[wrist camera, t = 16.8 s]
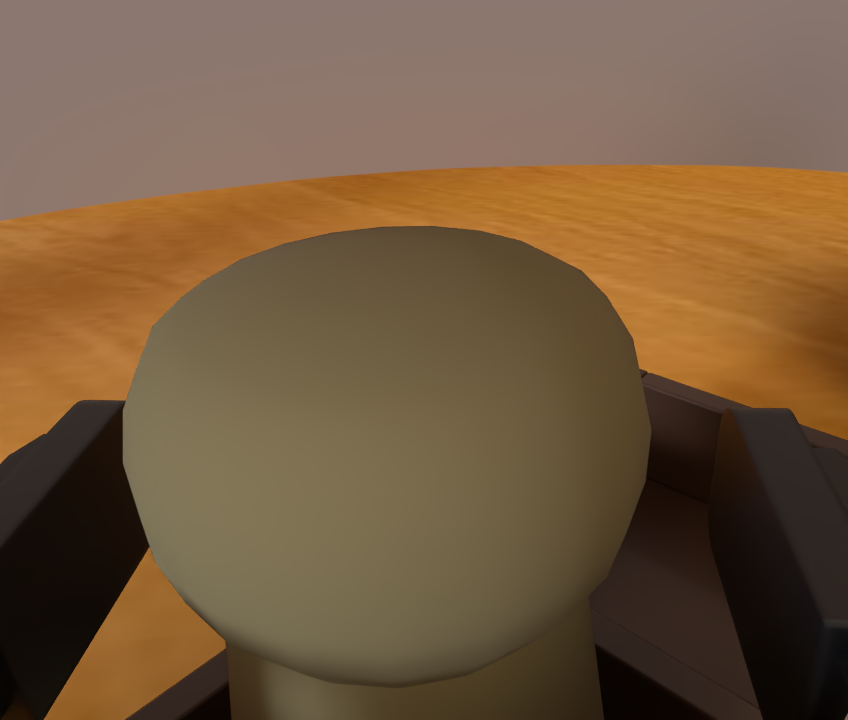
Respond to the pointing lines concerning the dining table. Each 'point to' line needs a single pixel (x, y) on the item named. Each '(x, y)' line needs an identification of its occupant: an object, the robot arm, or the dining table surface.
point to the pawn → (392, 473)
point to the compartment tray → (628, 589)
